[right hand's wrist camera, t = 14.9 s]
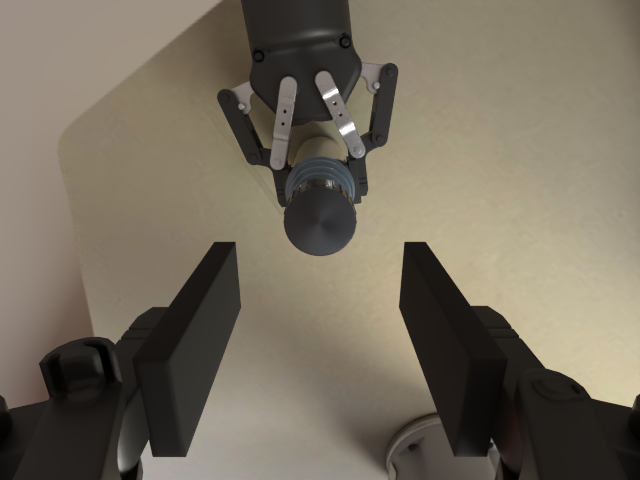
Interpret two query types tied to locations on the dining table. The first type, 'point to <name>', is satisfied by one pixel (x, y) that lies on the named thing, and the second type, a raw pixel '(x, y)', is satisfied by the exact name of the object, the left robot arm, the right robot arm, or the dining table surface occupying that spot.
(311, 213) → the cap
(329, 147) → the bottle
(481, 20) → the dining table surface
